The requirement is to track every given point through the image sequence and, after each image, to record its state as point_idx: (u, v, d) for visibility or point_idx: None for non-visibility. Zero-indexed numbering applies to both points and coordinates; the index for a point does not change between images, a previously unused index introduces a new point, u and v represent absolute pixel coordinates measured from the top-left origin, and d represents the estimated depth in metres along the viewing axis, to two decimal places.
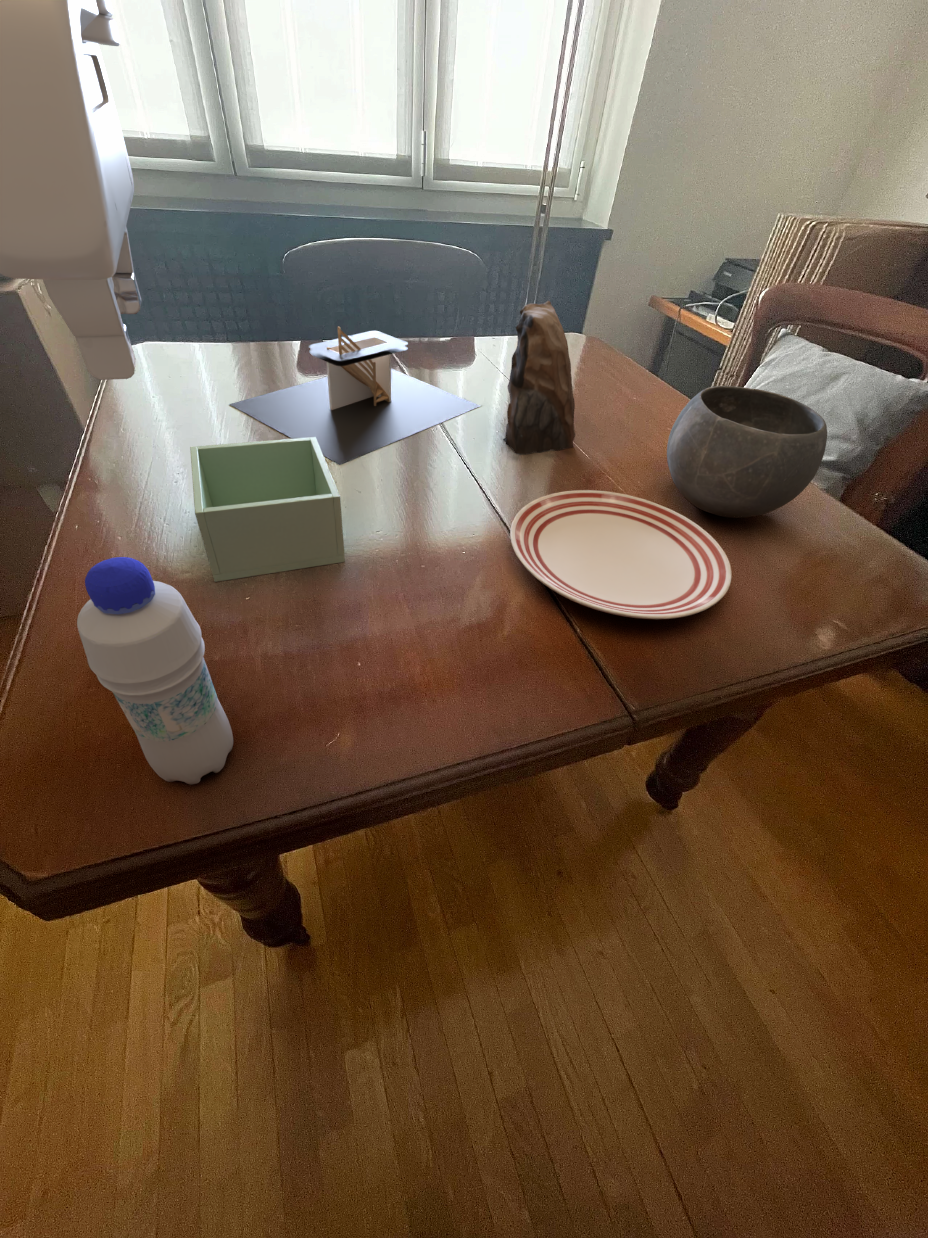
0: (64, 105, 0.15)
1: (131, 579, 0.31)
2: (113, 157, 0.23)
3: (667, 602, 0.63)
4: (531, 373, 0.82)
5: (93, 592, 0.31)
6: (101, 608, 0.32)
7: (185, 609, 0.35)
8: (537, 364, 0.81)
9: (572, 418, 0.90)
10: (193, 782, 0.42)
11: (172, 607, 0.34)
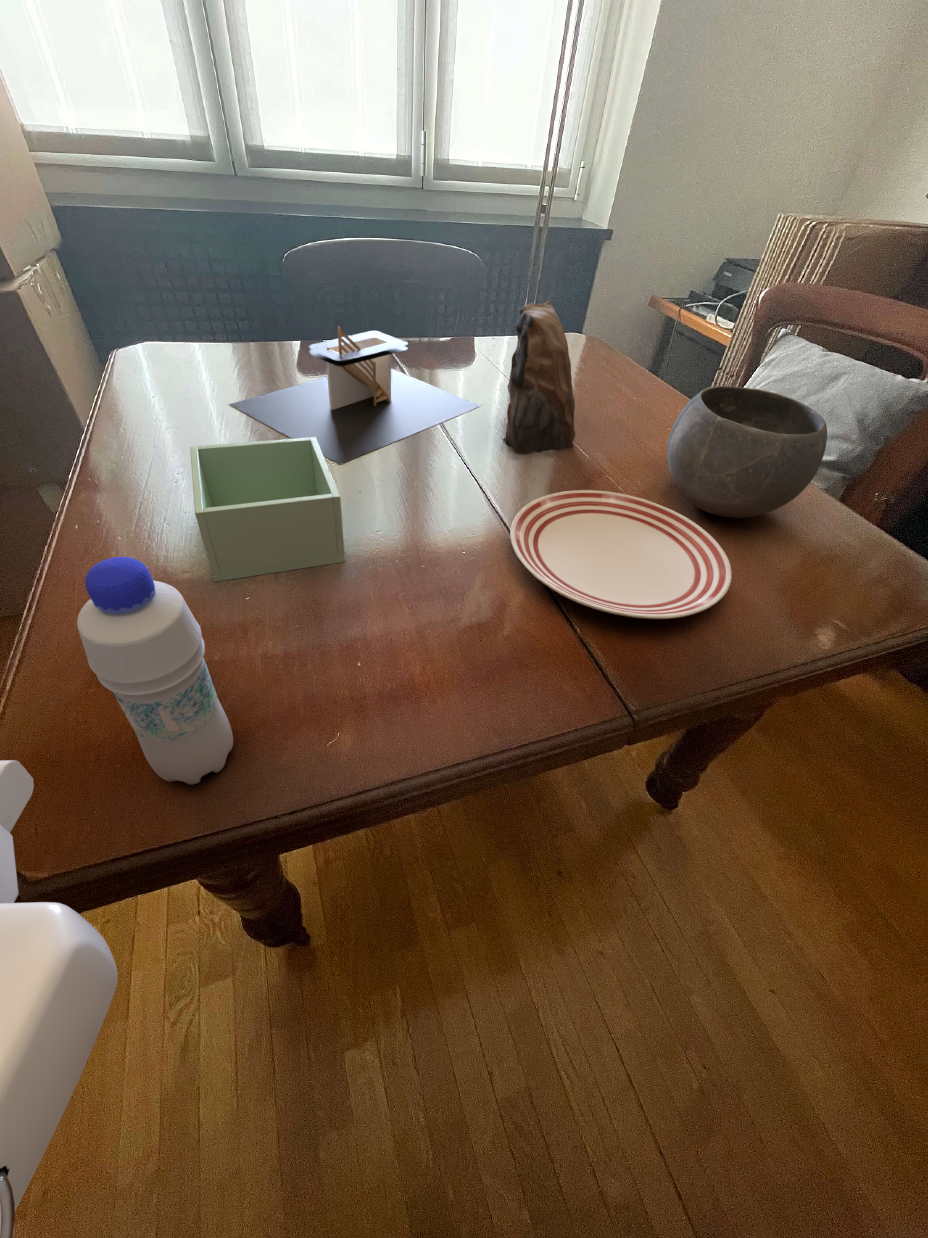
0: None
1: (131, 579, 0.31)
2: None
3: (667, 602, 0.63)
4: (531, 373, 0.82)
5: (93, 592, 0.31)
6: (101, 608, 0.32)
7: (185, 609, 0.35)
8: (537, 364, 0.81)
9: (572, 418, 0.90)
10: (193, 782, 0.42)
11: (172, 607, 0.34)
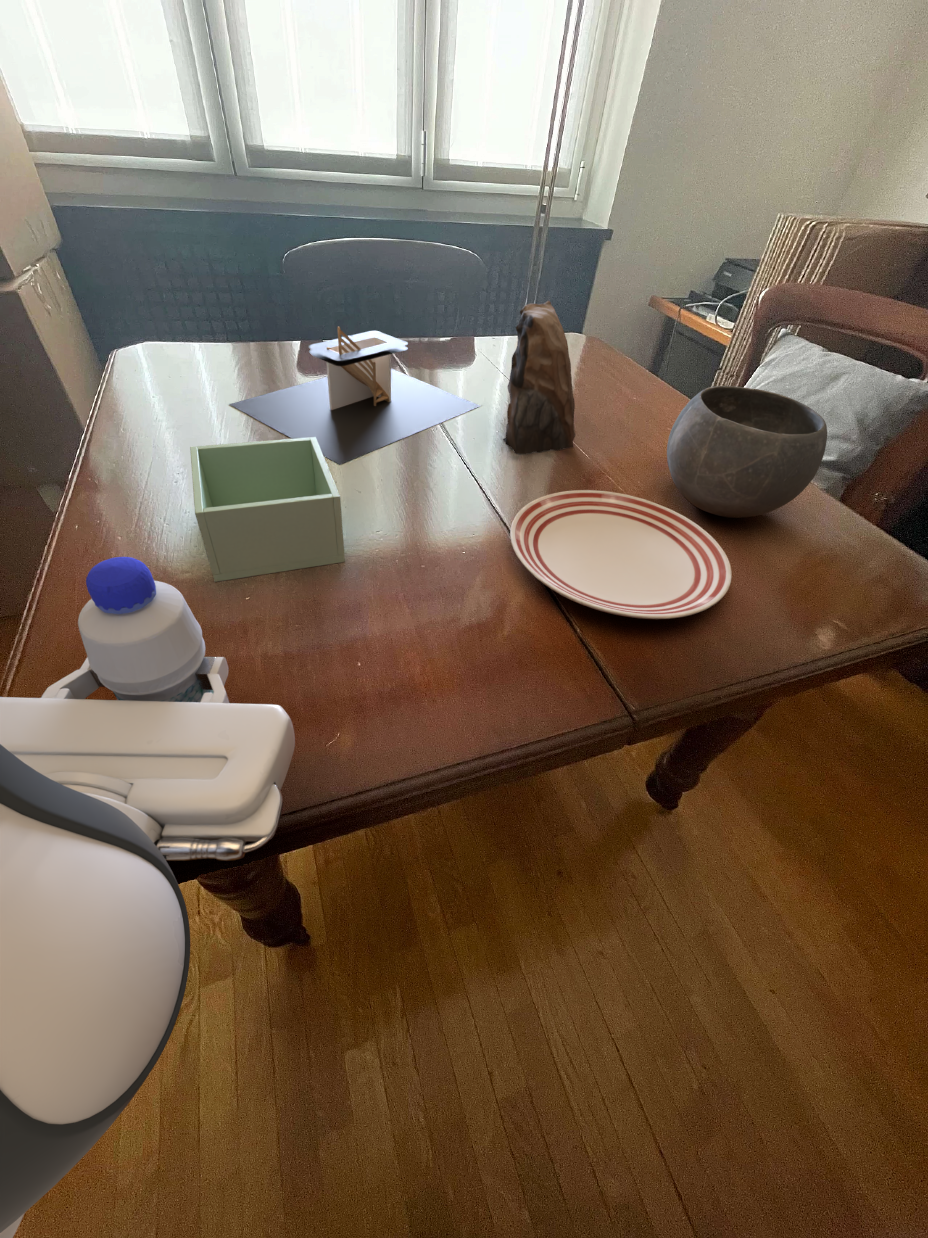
0: None
1: (132, 579, 0.31)
2: None
3: (667, 602, 0.63)
4: (531, 373, 0.82)
5: (94, 592, 0.31)
6: (102, 608, 0.32)
7: (186, 609, 0.35)
8: (537, 364, 0.81)
9: (572, 418, 0.90)
10: None
11: (173, 607, 0.34)
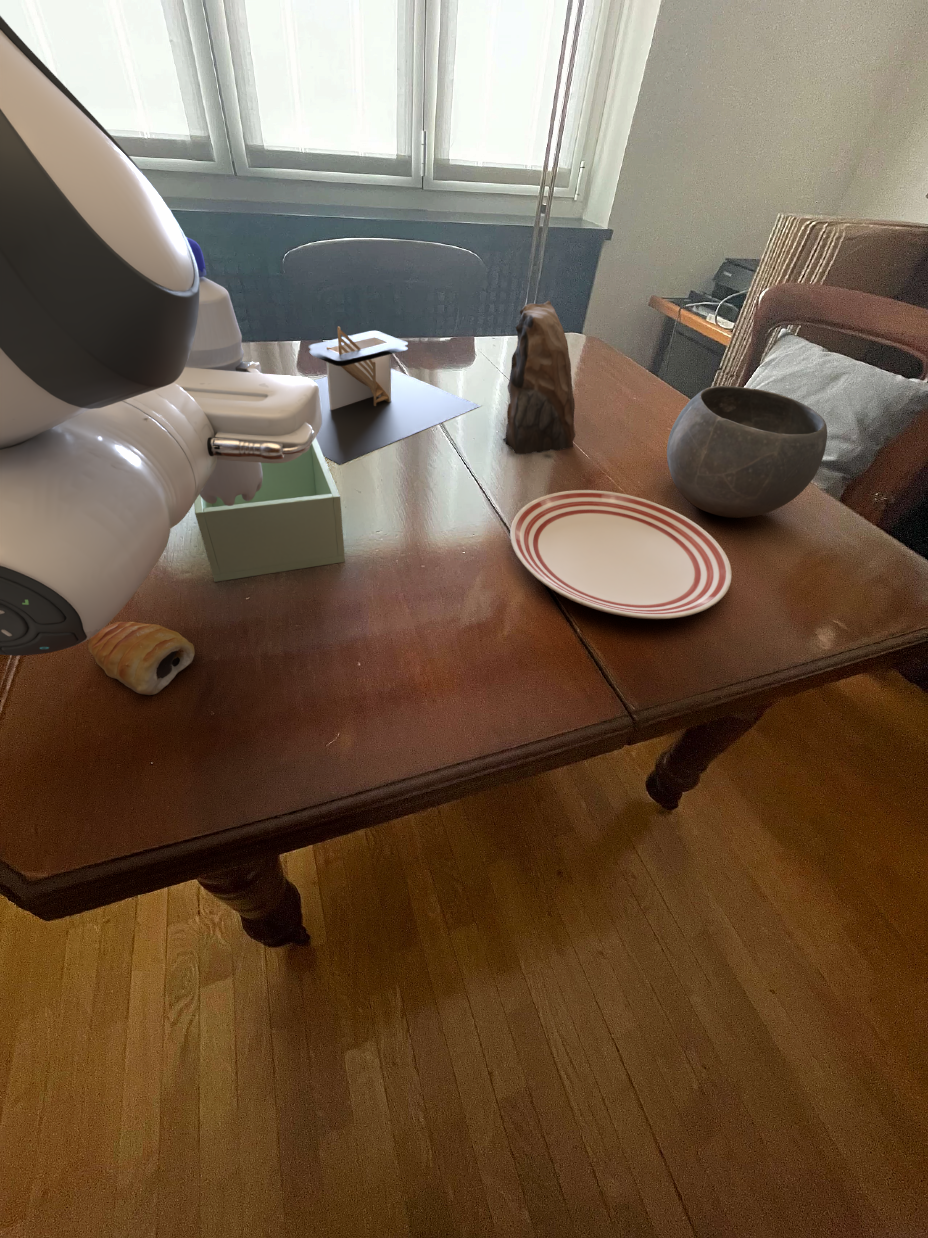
0: None
1: None
2: None
3: (667, 602, 0.63)
4: (531, 373, 0.82)
5: None
6: None
7: (230, 299, 0.41)
8: (537, 364, 0.81)
9: (572, 418, 0.90)
10: (229, 500, 0.48)
11: (220, 289, 0.40)
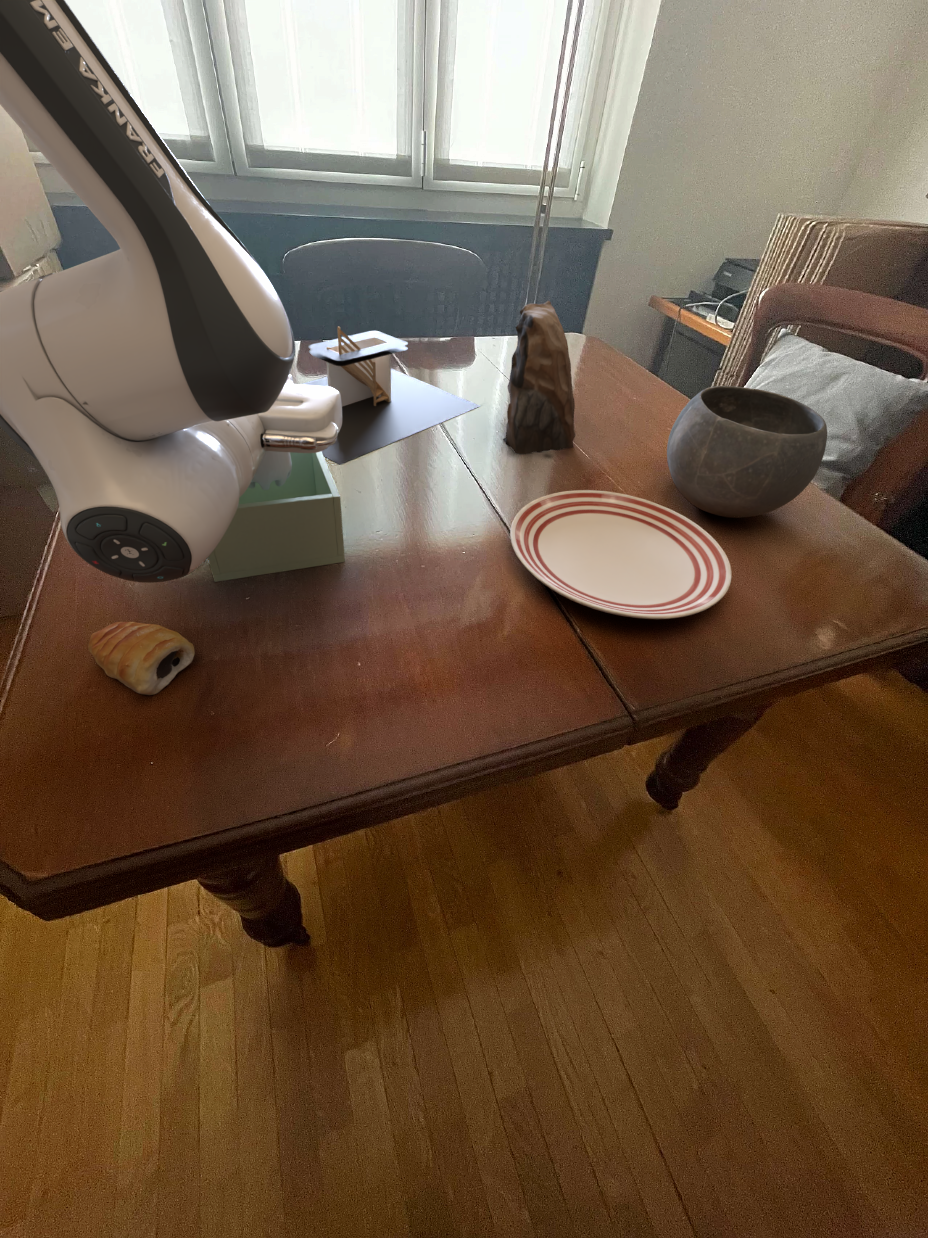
0: None
1: None
2: None
3: (667, 602, 0.63)
4: (531, 373, 0.82)
5: None
6: None
7: None
8: (537, 364, 0.81)
9: (572, 418, 0.90)
10: (265, 485, 0.60)
11: None
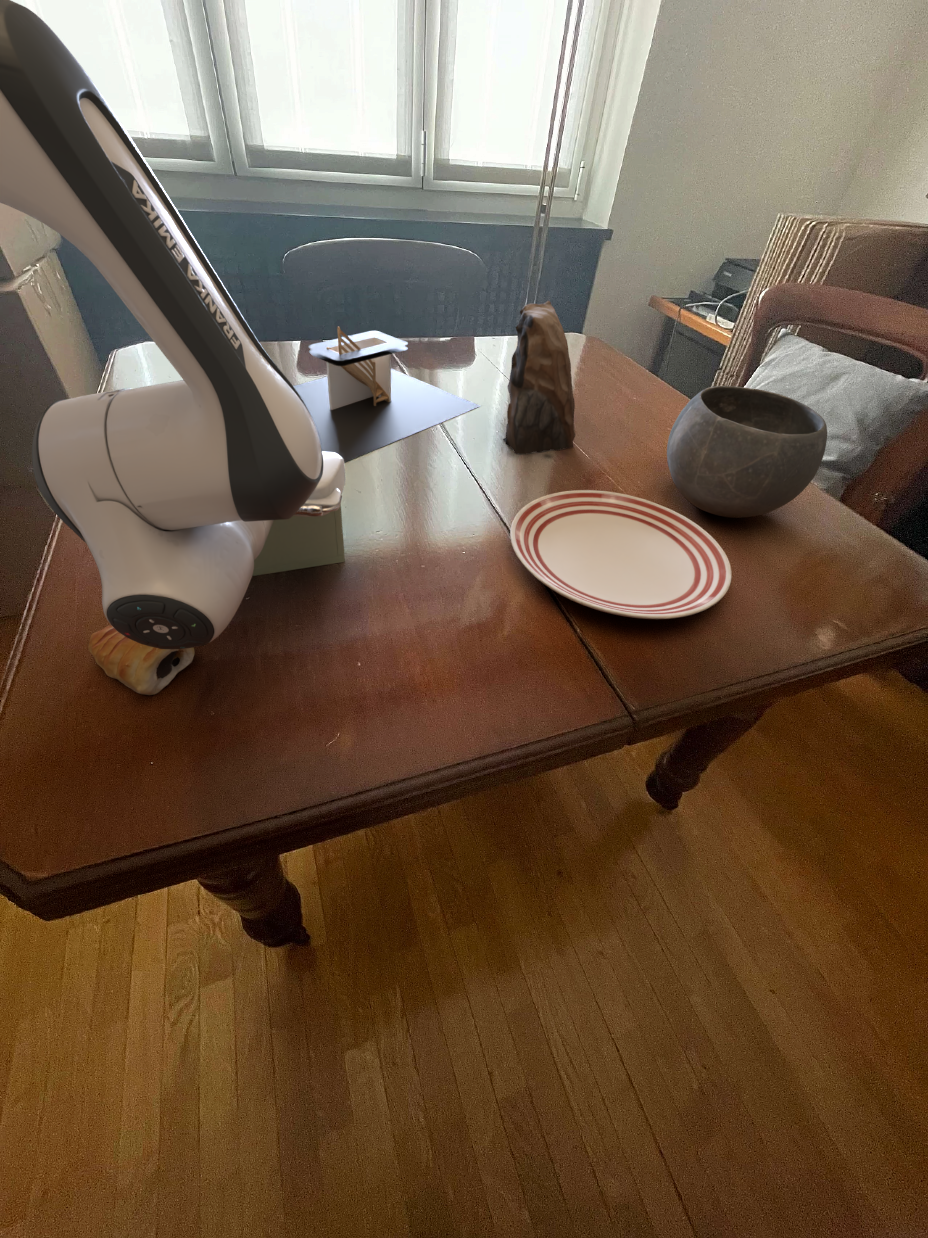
0: None
1: None
2: None
3: (667, 602, 0.63)
4: (531, 373, 0.82)
5: None
6: None
7: None
8: (537, 364, 0.81)
9: (572, 418, 0.90)
10: None
11: None
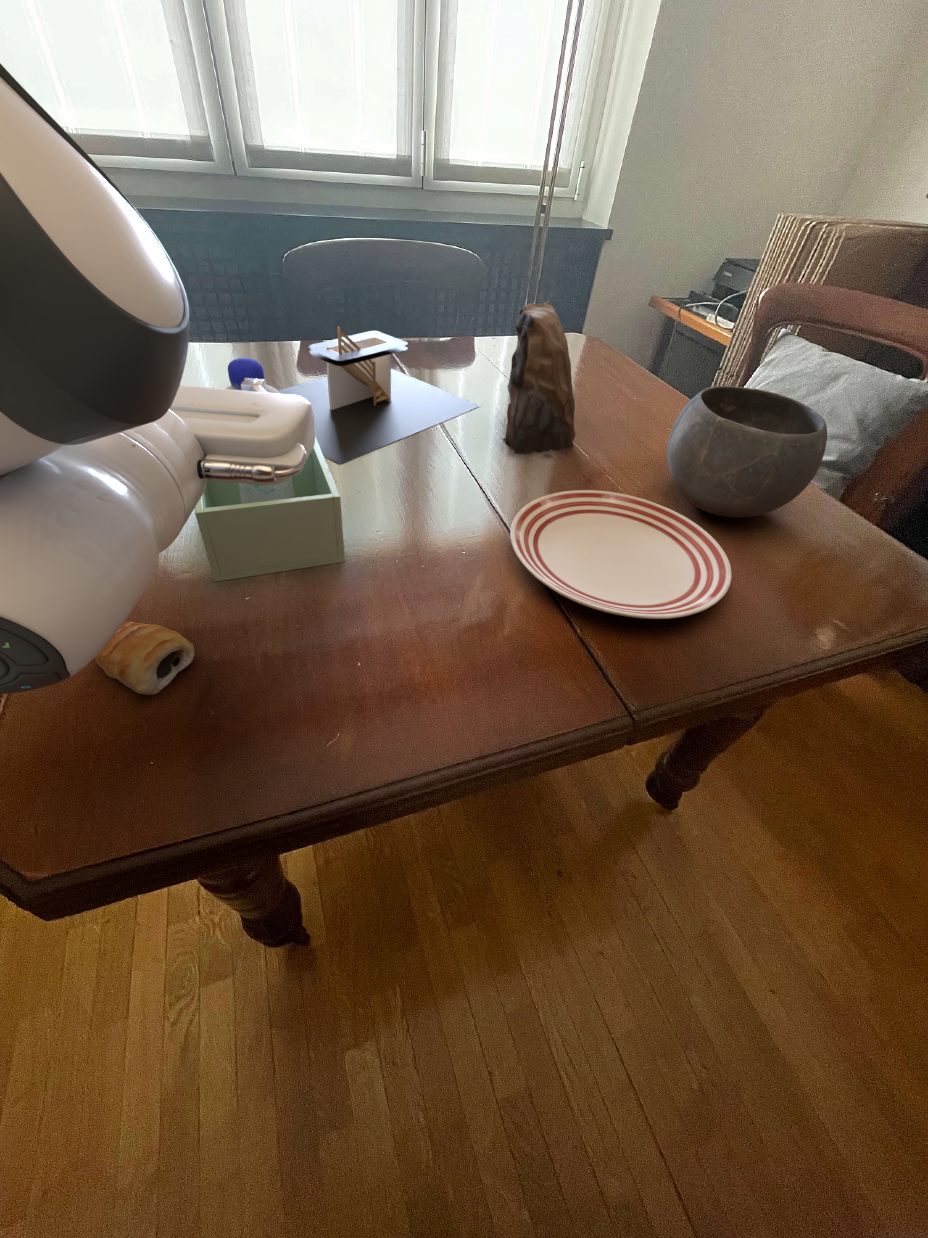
0: None
1: (255, 366, 0.53)
2: None
3: (667, 602, 0.63)
4: (531, 373, 0.82)
5: (234, 372, 0.53)
6: (237, 384, 0.54)
7: None
8: (537, 364, 0.81)
9: (572, 418, 0.90)
10: None
11: None
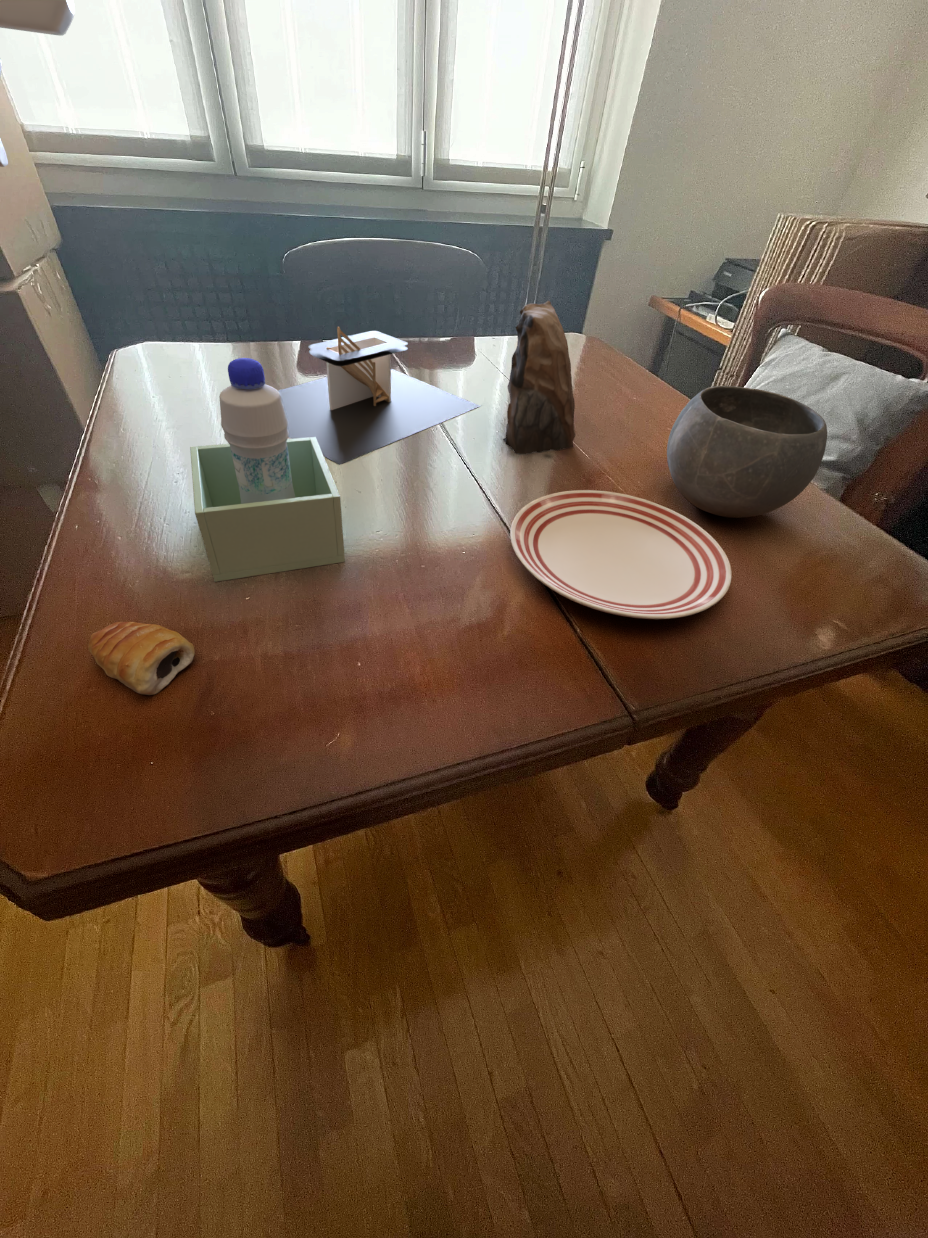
0: None
1: (255, 366, 0.53)
2: None
3: (667, 602, 0.63)
4: (531, 373, 0.82)
5: (234, 372, 0.53)
6: (237, 384, 0.54)
7: (280, 398, 0.57)
8: (537, 364, 0.81)
9: (572, 418, 0.90)
10: None
11: (274, 393, 0.56)
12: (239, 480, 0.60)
